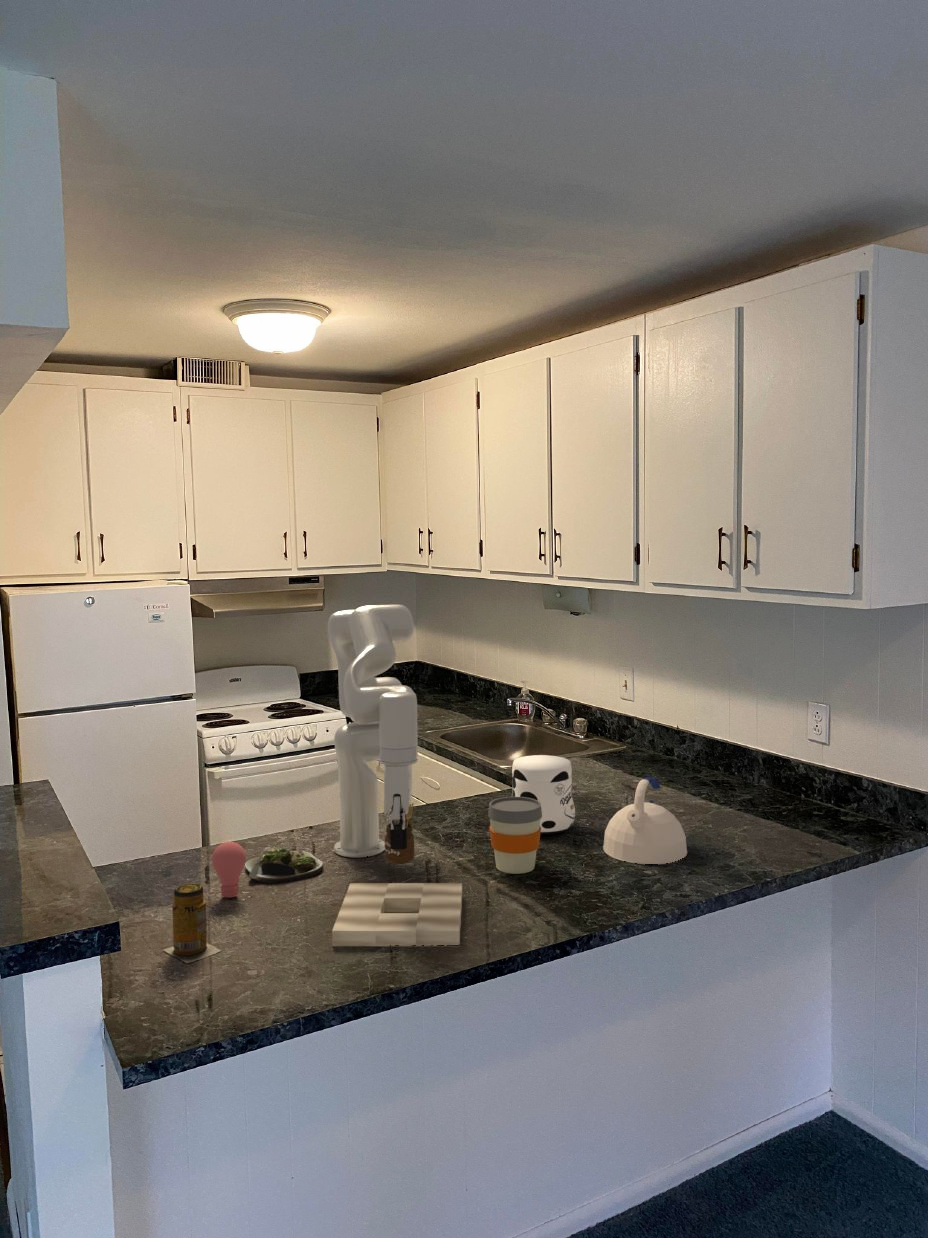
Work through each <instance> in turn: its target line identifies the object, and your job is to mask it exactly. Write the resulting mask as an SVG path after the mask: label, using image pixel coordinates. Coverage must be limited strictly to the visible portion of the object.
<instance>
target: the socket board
mask: <svg viewBox="0 0 928 1238" xmlns="http://www.w3.org/2000/svg"><path fill="white" fill-rule="evenodd" d="M462 906H463V883H462V882H409V883H408V882H396V883H395V882H392V883H391V882H390V883H389V882H380V883H379V882H377V883H376V882H374V883H373V882H371V883H370V882H369V883H368V882H366V883H365V882H364V883H363V882H361V883H360V882H357V883H356V882H350V883H349V886H348V888H347V891H346V892H345V896H344V898H343V902H342V904H341V906H340V909H339V911H338V914H337V917H336V919H335V922H334V925H333V927H332V931H331V943H332V944H331V945H332V947H396V946H395V945H399V946H398V947H413V946H412V945H416V946H415V947H438V946H437V945H444V946H443V947H448V946H447V945H459V944H460V942H461V941H460V940H461V926H462V925H461V924H462ZM390 945H391V946H390ZM422 945H424V946H422ZM431 945H433V946H431ZM460 945H461V944H460ZM460 945H459V946H460Z"/></svg>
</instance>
